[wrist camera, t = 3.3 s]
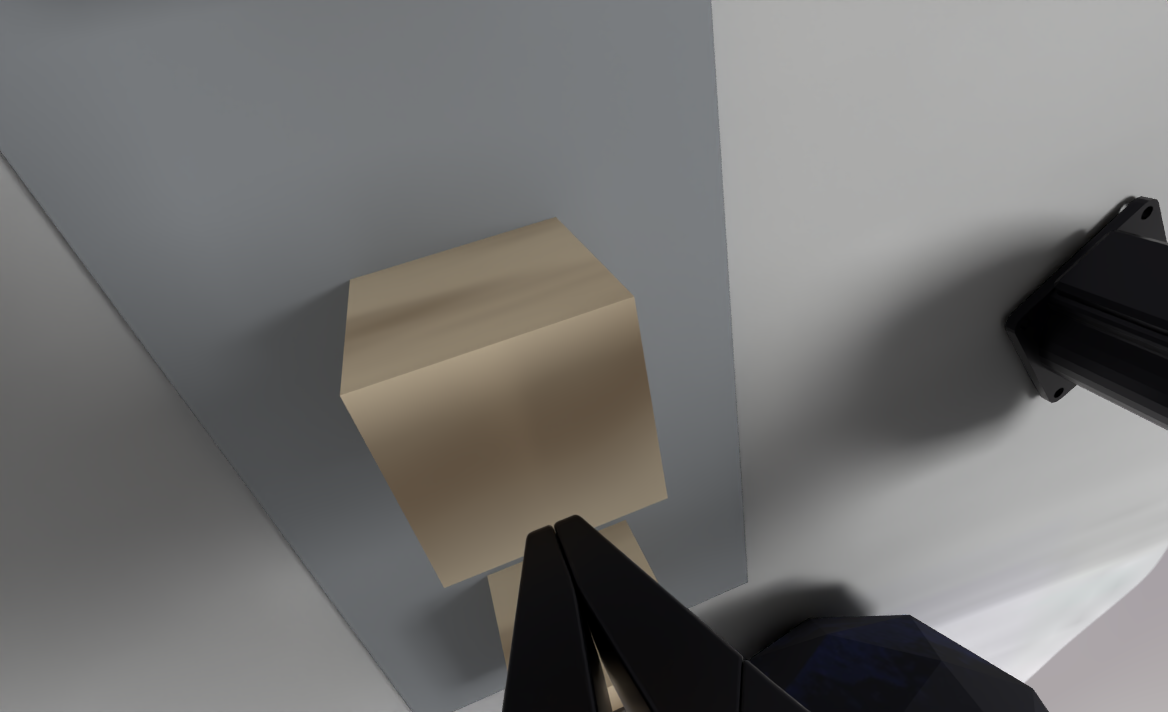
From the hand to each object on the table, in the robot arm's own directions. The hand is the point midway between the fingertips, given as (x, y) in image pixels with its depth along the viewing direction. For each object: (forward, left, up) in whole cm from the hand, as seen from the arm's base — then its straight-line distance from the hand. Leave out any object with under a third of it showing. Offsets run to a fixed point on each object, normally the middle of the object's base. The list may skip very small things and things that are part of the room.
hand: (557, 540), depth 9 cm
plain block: (0, 0, -7) cm, 7 cm away
